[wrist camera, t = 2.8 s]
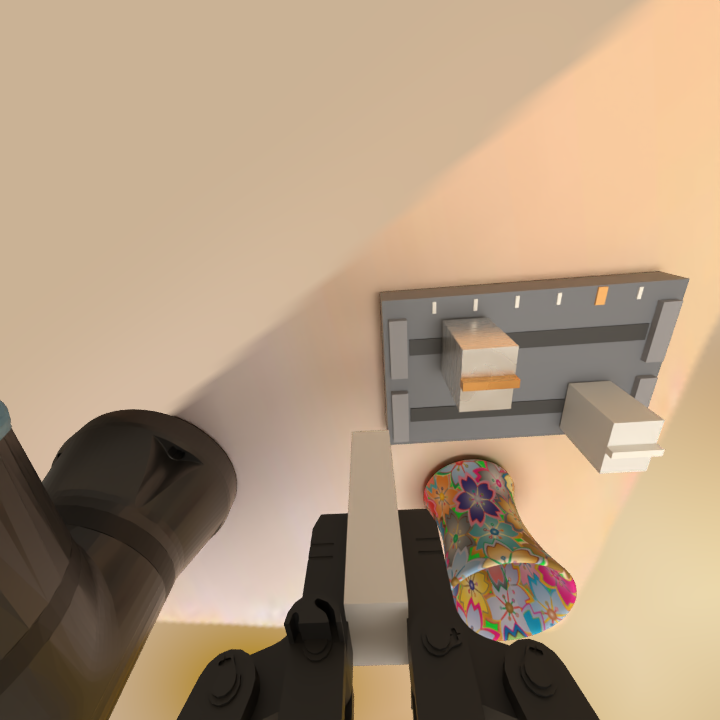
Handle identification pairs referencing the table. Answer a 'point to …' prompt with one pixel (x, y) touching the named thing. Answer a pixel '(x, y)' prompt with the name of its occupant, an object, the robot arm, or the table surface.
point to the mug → (494, 554)
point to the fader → (478, 364)
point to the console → (540, 362)
